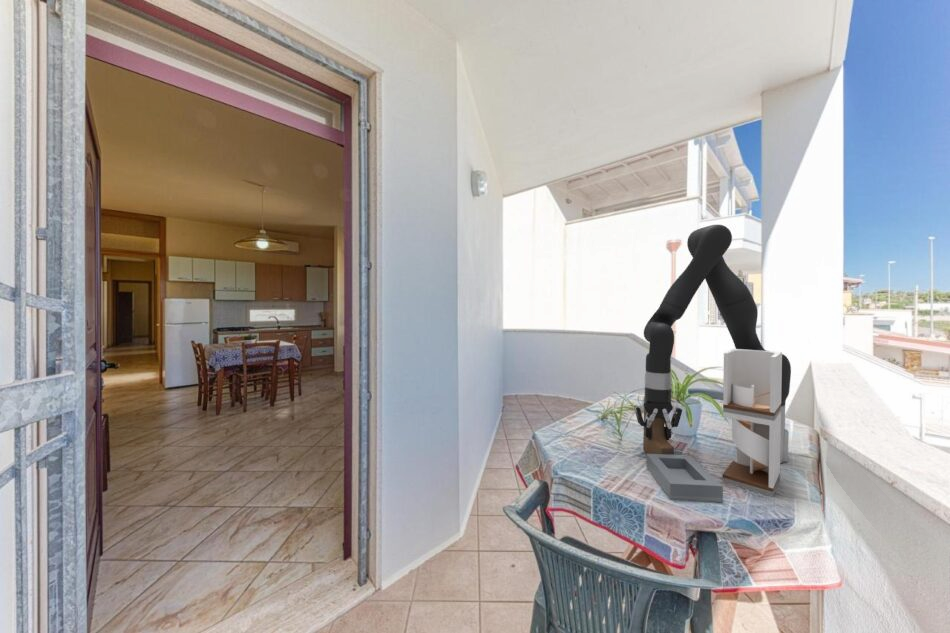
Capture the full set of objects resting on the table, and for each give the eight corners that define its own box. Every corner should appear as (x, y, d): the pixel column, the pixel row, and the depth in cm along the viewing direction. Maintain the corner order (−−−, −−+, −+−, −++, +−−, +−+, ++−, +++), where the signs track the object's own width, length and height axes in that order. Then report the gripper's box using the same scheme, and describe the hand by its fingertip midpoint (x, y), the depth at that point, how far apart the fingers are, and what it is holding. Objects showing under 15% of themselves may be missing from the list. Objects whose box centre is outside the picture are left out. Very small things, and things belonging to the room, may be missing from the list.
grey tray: (689, 468, 105) (690, 455, 104) (722, 502, 87) (722, 486, 87) (646, 466, 106) (646, 453, 106) (670, 499, 89) (670, 483, 89)
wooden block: (674, 461, 109) (675, 403, 109) (661, 462, 109) (662, 403, 108) (655, 449, 118) (656, 395, 118) (642, 450, 118) (643, 396, 117)
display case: (732, 467, 105) (733, 348, 103) (779, 480, 97) (782, 352, 96) (722, 481, 97) (723, 353, 96) (772, 496, 89) (775, 357, 88)
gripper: (677, 383, 115) (676, 435, 116) (630, 382, 117) (630, 434, 118) (687, 389, 108) (687, 444, 109) (637, 388, 110) (637, 442, 111)
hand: (657, 438), depth 113 cm, fingers closed on wooden block, 4 cm apart
